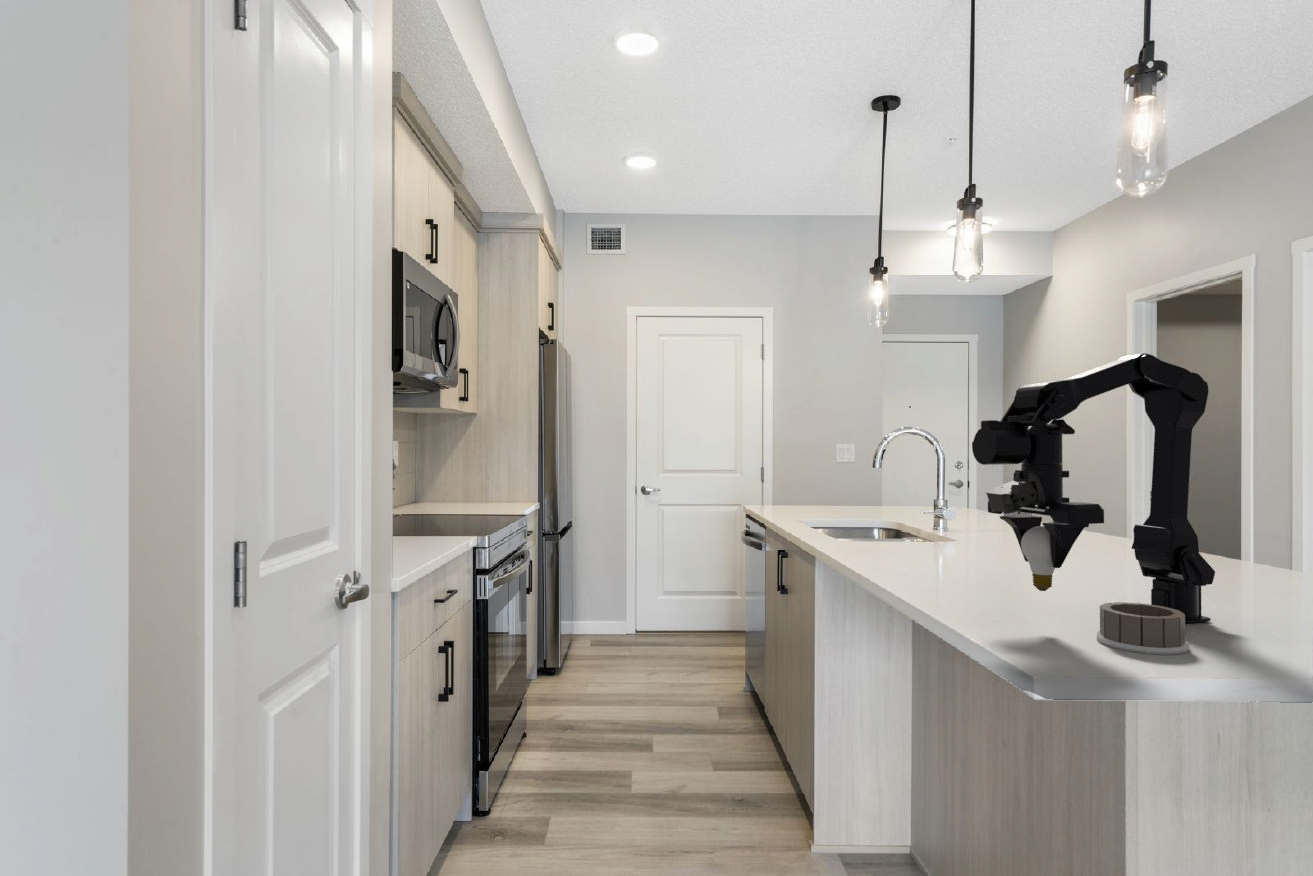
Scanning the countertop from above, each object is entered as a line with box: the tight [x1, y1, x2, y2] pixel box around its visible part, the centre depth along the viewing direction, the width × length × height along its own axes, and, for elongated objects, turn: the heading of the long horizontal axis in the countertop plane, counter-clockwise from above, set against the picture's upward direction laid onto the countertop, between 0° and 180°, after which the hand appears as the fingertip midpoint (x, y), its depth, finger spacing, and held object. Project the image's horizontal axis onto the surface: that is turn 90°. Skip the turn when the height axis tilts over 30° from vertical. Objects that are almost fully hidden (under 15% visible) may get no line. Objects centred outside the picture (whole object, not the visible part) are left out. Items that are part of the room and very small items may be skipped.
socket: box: [1096, 601, 1190, 656], centre depth 106 cm, size 11×11×5 cm
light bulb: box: [1020, 525, 1056, 592], centre depth 116 cm, size 6×6×10 cm
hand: (1042, 564), depth 116 cm, fingers closed on light bulb, 6 cm apart
